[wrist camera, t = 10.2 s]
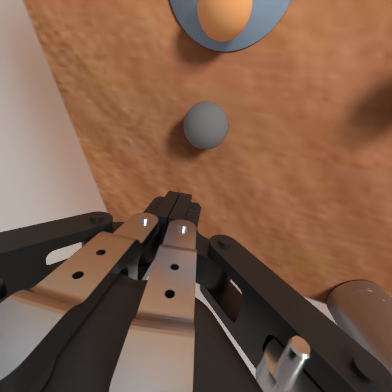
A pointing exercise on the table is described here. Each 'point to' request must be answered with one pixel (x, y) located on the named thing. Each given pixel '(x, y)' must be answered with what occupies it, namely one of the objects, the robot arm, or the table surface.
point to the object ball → (223, 17)
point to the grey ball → (205, 125)
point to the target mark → (254, 30)
